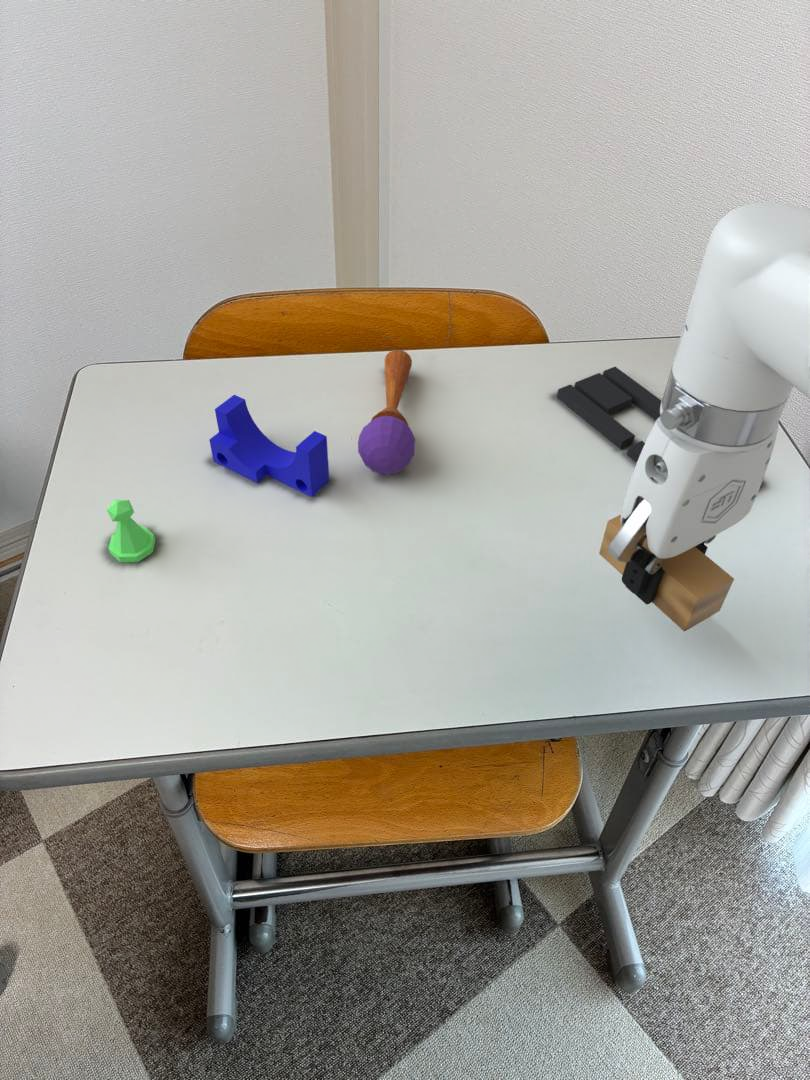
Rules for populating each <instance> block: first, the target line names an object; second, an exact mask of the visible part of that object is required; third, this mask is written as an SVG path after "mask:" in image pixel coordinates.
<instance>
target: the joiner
mask: <svg viewBox="0 0 810 1080" xmlns="http://www.w3.org/2000/svg"><path fill="white" fill-rule="evenodd" d="M621 528H622V525H621V514H619V515H616V516H615V517H612V518H611V519H609V520H607V523H606V527H605V529H604V533H603V538H602V541H601V545H600V547H599V548H600V549H599V553H598V554H599V555H600V556H601V557H602V559H604V560H605V561H606V562H607V563H609V565H611V566H612V567H613V568H614V570H616V571H617V572H618V573H619V574H620V575H623V572H624V569H625V566H626V562H620V561H618V560H616V559H615V558H614V557H613V556H612V555H611V554H610V553H609V552H608V551H607V548H608V546H609V544H610V543H611V542H612V540H613V539H614V538H615V536H616V535H617V534H618V532H619V531H620V529H621ZM642 546H643V547H644V548H646V549H647V550H648V551H649V552H650V553H651V554H652V552H651V551H650V550H649V548H648V543H647V539H645V541H644V543H643V545H642ZM661 567H662V569H663V570H664V574H663V576H662V579H661V582H660V585H659V587H658V590H657V593H656V596H655V598H654V601H653V602H651V603H652V604H653V605H654V606H655V607H656V608H658V610H660V611H661V612H662V613H663V614H664V615H665V616H666V617H667V618H668V619H669V620H671V621H672V622H673V623H674V624H675V625H676V626H677V627H678V628H680V629H681V630H682V632H686V631H689V630H690V629H692V628H694V627H695V626H697V625H699V624H700V623H702V622H704V621H705V620H707V619H709V618H710V617H712V616H714V615H716V614H717V613H719V612H720V611H721V609H722V608H723V607H722V606H723V605H724V602H725V600H726V598H727V595H728V594H729V591H730V590H731V587H732V585H733V582H734V580H735V578H734V577H733V576H732V575H730V574H729V573H728V572H727V571H726V570H725V569H723V568H722V567H721V566H719V565H718V564H717V563H716V562H715V561H714V560H713V559H711V558H710V557H708V556H707V555H706V553H705V554H704V553H702V552H701V551H700V550H699V549H697V548H696V547H693V548H691V549H689V550H687V551H685V552H683V553H681V554H679V555H677V556H674V557H671V558H665V559H664V561H663V563H662V565H661Z"/></svg>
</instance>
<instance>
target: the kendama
mask: <svg viewBox="0 0 810 1080" xmlns="http://www.w3.org/2000/svg"><path fill="white" fill-rule="evenodd" d="M412 364H413V360H412V357H411V356H410V354H409V353H407V352H406V351H404V350H402V349H393V350H391V351H389V352H388V353H386V355H385V357H384V377H385V378H384V379H385V380H384V382H385V401H386V402H385V403H386V407H385V408H383V409H382V410H381V411H379V412H377V413H376V414H375V415H374V416H372V417H371V420H370V422H368V423H367V424H366V425H365V426H363V427H362V429H361V432H360V434H359V436H358V441H357V448H358V449H357V451H358V452H357V453H358V454H359V456H360V458H361V460H362V462H363V464H364V466H366V468H368V469H369V470H370V471H371V472H374V473H376V474H380V475H393V474H397V473H399V472H401V471H402V470H404V469H405V468H406V467H407V466H408V465H409V464H411V461H412V460H413V458H414V457H415V452H416V451H415V450H416V438H415V435H414V432H413V431H412V429H411V427H410V426H409V422H408V420H407V419H406V417H405V416H404V415H403V414H402V413H401V411H399V409H398V408H399V404H400V401H401V399H402V397H403V396H402V395H403V392H404V390H405V386H406V383H407V380H408V377H409V374H410V372H411V370H412Z"/></svg>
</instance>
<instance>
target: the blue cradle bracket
mask: <svg viewBox="0 0 810 1080" xmlns="http://www.w3.org/2000/svg"><path fill="white" fill-rule="evenodd" d="M214 413H215V418H216V424H217V429H218V432H217V433H216V434H215V435H213V436H212V437H211V438H210V439H209V440H208V441H209V446H210V450H211V455H212V460H213V462H214V463H216V464H218V465H220V466H222V467H224V468H225V469H228V470H230V471H232V472H234V473H236V474H238V475H240V476H242V477H243V478H246V479H248V480H250V481H252V482H254V483H256V484H258V483H259V482H260V481H261V480H263V478H265V477H266V476H267V477H270V478H272V479H274V480H276V481H279V482H280V483H281V484H284V485H285V486H288V487H290V488H291V489H294V490H296V491H299V492H300V493H302V494H304V495H306V496H308V497H310V498H313V497H314V496H315V495H316V494H317V493H318V492H319V491H321V490H322V488H323V487H324V486H326V485H327V484H328V483H329V482H330V470H329V452H328V450H329V449H328V436H327V435H325V434H323V433H321V432H318V431H315V430H314V431H312V432H311V433H310V434H308V436H307V437H305V438H304V440H302V441H301V442H299V444H297V445H296V446H295V451H290V450H288V449H285V448H283V447H281V446H280V445H278V444H276V443H275V442H273V441H272V440H271V439H269V437H267V436H266V434H264V432H262V430H261V429H260V428H259V427H258V425H257V424H256V422H255V421H254V419H253V418H252V415H251V413H250V411H249V408H248V406H247V401H246V399H245V398H243V397H241V396H238V395H236V394H233V395H231V396H230V397H228V398H227V399H226V400H225V401H223V402H222V403H221V404H219V405H218V406H217V407H215V408H214Z"/></svg>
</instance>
